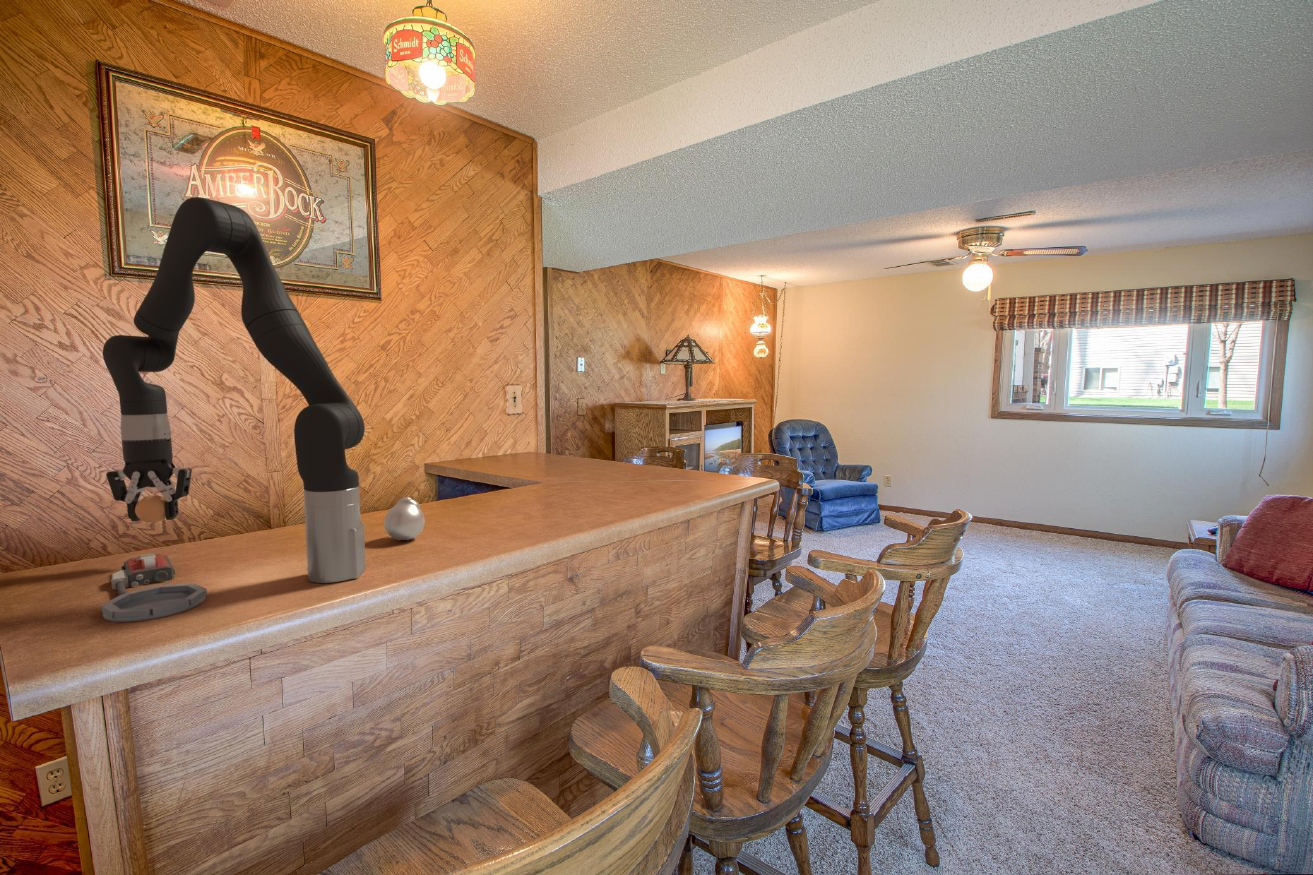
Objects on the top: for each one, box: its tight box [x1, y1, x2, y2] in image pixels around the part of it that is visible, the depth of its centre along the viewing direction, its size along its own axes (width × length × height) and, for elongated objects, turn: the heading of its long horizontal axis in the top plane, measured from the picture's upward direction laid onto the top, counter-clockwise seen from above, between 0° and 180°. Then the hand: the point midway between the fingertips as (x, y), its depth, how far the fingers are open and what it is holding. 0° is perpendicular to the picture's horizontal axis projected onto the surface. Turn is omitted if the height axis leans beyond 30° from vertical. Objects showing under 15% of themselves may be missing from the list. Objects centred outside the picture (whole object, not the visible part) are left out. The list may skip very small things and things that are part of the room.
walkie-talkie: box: [110, 552, 176, 596], centre depth 109 cm, size 9×4×20 cm
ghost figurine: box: [383, 496, 426, 541], centre depth 139 cm, size 9×10×10 cm
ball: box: [135, 494, 167, 524], centre depth 119 cm, size 6×6×6 cm
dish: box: [101, 582, 208, 623], centre depth 97 cm, size 13×13×2 cm
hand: (154, 519), depth 119 cm, fingers closed on ball, 5 cm apart
